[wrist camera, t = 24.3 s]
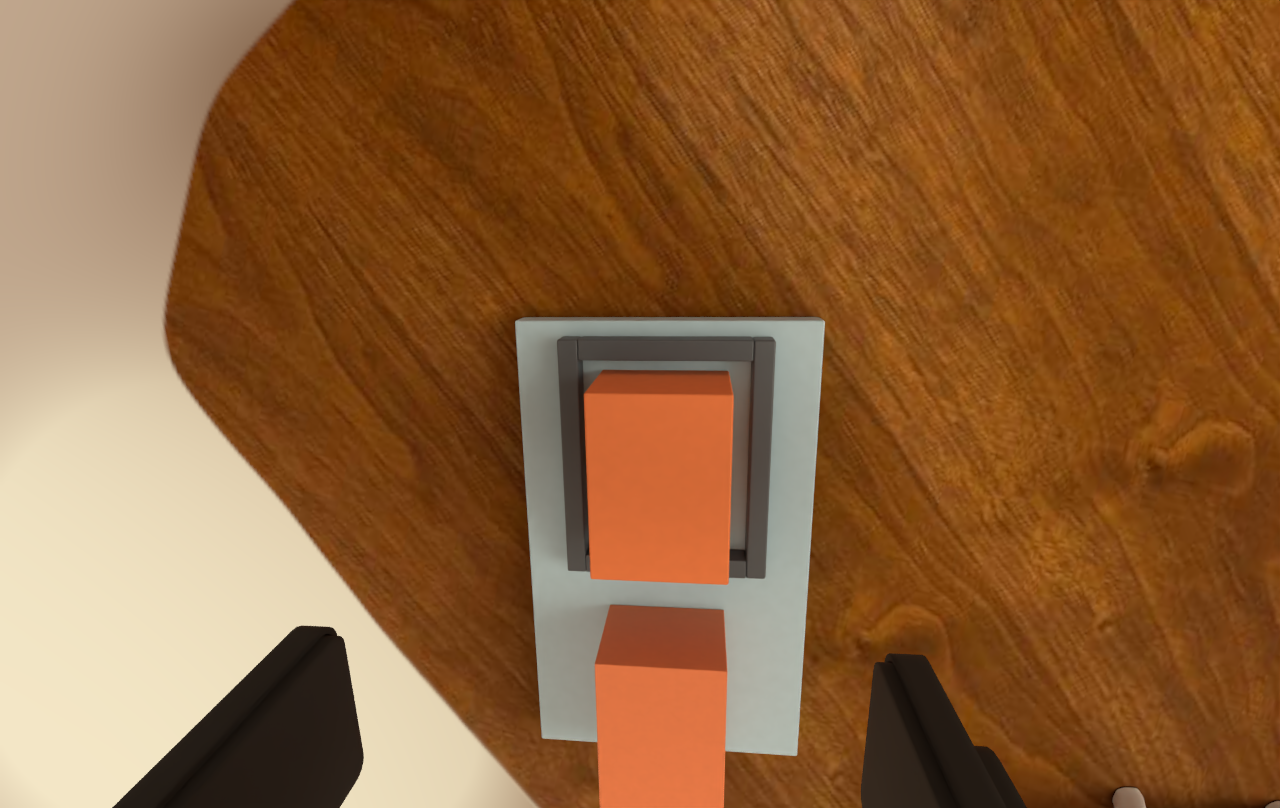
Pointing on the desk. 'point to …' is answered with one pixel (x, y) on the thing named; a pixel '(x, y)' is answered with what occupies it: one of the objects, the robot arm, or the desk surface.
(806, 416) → the gray fixture board
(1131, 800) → the dog figurine
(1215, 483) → the desk surface
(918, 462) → the desk surface
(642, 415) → the orange rectangular block
